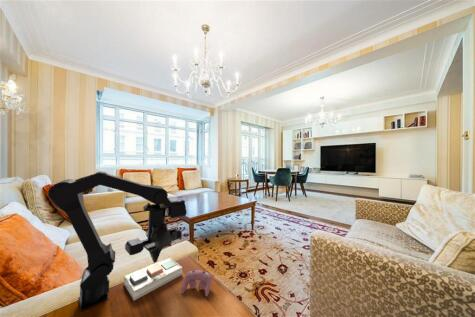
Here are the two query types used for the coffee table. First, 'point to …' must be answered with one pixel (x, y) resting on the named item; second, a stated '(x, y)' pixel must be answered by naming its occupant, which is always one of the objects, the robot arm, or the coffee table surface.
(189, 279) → the video game controller
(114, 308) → the coffee table surface
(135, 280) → the charcoal key
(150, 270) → the terracotta key
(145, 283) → the pad
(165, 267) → the sage key
